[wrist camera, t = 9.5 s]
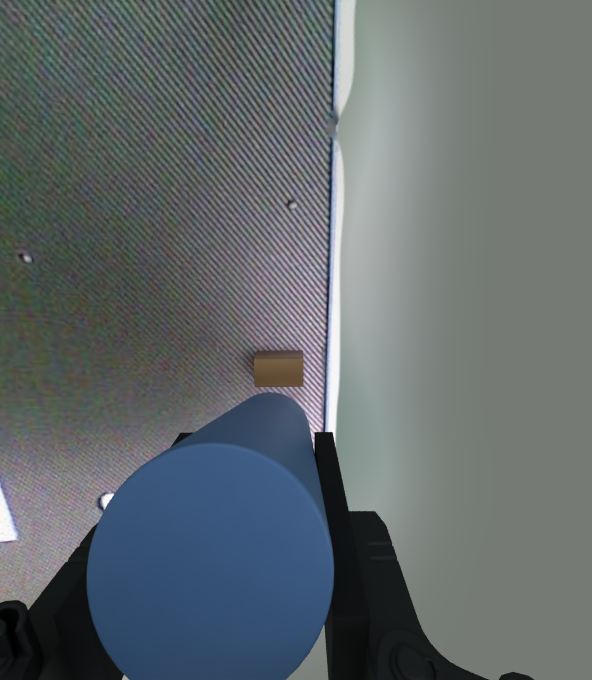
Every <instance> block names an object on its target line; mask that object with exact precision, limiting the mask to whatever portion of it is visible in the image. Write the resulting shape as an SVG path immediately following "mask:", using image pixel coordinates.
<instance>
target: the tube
mask: <svg viewBox="0 0 592 680" xmlns="http://www.w3.org/2000/svg"><path fill="white" fill-rule="evenodd" d="M333 586H334V558H333V549H332V543H331V538H330V533H329V527H328V522H327V517H326V512H325V506H324V501H323V496H322V491H321V485H320V480H319V475H318V470H317V464H316V459H315V454H314V449H313V443H312V438H311V433H310V428H309V423H308V420H307V417H306V415H305V413H304V411H303V410H302V408H301V407H300V406H299V405H298V404H297V403H296V402H295V401H294V400H292V399H291V398H289V397H287V396H285V395H282V394H279V393H272V392H268V393H261V394H257V395H255V396H252V397H251V398H249V399H247V400H246V401H244V402H242V403H241V404H239V405H238V406H236V407H234V408H233V409H231V410H230V411H228V412H226V413H225V414H223V415H222V416H220V417H218V418H217V419H215V420H214V421H212V422H210V423H209V424H207V425H206V426H204V427H202V428H201V429H199V430H198V431H196V432H194V433H193V434H191V435H190V436H188V437H186V438H185V439H183V440H182V441H180V442H179V443H177V444H175V445H174V446H172V447H171V448H169V449H167V450H166V451H164V452H163V453H161V454H159V455H158V456H156V457H155V458H153V459H152V460H150V461H149V462H147V463H146V464H144V465H143V466H141V467H140V468H139V469H138V470H137V471H135V472H134V473H133V474H132V475H131V476H130V477H129V478H128V479H127V480H126V481H125V482H124V483H123V484H122V485H121V487H120V488H119V489H118V490H117V491H116V493H115V494H114V496H113V497H112V499H111V500H110V502H109V503H108V505H107V507H106V508H105V510H104V512H103V514H102V516H101V518H100V520H99V522H98V525H97V528H96V530H95V533H94V536H93V539H92V543H91V547H90V551H89V556H88V565H87V596H88V603H89V609H90V613H91V617H92V621H93V624H94V627H95V629H96V632H97V634H98V637H99V639H100V641H101V643H102V645H103V647H104V648H105V650H106V652H107V654H108V655H109V657H110V658H111V659H112V661H113V662H114V663H115V665H116V666H117V667H118V669H119V670H120V671H121V672H122V673H123V674H124V675H125V676H126V677H127V678H128V679H129V680H286V679H287V678H288V677H289V676H290V675H291V674H292V673H293V672H294V671H295V670H296V669H297V668H298V667H299V666H300V664H301V663H302V662H303V660H304V659H305V658H306V657H307V655H308V654H309V653H310V651H311V649H312V647H313V646H314V644H315V642H316V641H317V639H318V637H319V635H320V632H321V630H322V627H323V625H324V623H325V620H326V618H327V614H328V611H329V607H330V604H331V598H332V592H333Z"/></svg>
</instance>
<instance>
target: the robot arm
mask: <svg viewBox="0 0 592 680" xmlns="http://www.w3.org/2000/svg"><path fill="white" fill-rule="evenodd" d="M191 434H193V433H180V434H179V436H178V437H177V439H176V440H175V442H174V443H173V444H172V446H174V445H175V444H177V443H179V442H180V441H182V440H183V439H185V438H186V437H188V436H190V435H191ZM172 446H171V447H172ZM171 447H170V448H171ZM314 454H315V459H316V464H317V470H318V475H319V480H320V485H321V491H322V496H323V501H324V506H325V512H326V517H327V522H328V527H329V533H330V538H331V543H332V549H333V558H334V586H333V592H332V598H331V604H330V607H329V611H328V614H327V618H326V620H325V623H324V625H325V637H326V652H327V664H328V678H329V680H488V679H486V678H483V677H481V676H478V675H476V674H474V673H471V672H469V671H466V670H464V669H462V668H460V667H458V666H456V665H454V664H453V663H451V662H449V661H448V660H447V659H446V658H444V657H443V656H442V655H441V654H440V653H439V652H438V651H437V650H436V649H435V648H434V647H433V645H432V644H431V643H430V642H429V640H428V639H427V637H426V635H425V634H424V632H423V630H422V628H421V626H420V623H419V621H418V618H417V615H416V612H415V609H414V606H413V604H412V600H411V597H410V595H409V592H408V589H407V586H406V583H405V580H404V577H403V574H402V571H401V568H400V565H399V562H398V561H397V556H396V553H395V550H394V547H393V546H392V541H391V539H390V536H389V533H388V530H387V527H386V525H385V523H384V522H383V521H382V520H381V518H380V517H379V516H378V515H377V513H376V512H375V511H349V510H348V506H347V501H346V496H345V491H344V486H343V481H342V477H341V472H340V467H339V462H338V457H337V452H336V447H335V443H334V438H333V433H332V432H315V449H314ZM97 525H98V523H97V524H96V525H95V526H94V527H93V528H92V529H91V530H90V532H89V533H88V534H87V535H86V537H85V538H84V539H83V541H82V542H81V543H80V546H79V547H77V548H76V550H75V551H74V552H73V553H72V555H71V556H70V557H69V560H68V562H65V564H64V565H63V566H62V568H61V569H60V570H59V571H58V573H57V574H56V575H55V577H54V578H53V579H52V580H51V582H50V583H49V584H48V586H47V587H46V588H45V589H44V591H43V592H42V593H41V595H40V596H39V597H38V598H37V600H36V601H35V602H34V604H33V605H32V606H31V607H30V609H29V610H28V609H27V607H26V605H25V604H24V603H22V602H20V601H19V600H13V601H4V602H2V603H0V680H122V678H123V675H124V674H123V673H122V672H121V671H120V670H119V669H118V667H117V666H116V665H115V663H114V662H113V661H112V659H111V658H110V657H109V655H108V654H107V652H106V650H105V648H104V647H103V645H102V643H101V641H100V639H99V637H98V634H97V632H96V629H95V627H94V624H93V621H92V617H91V613H90V609H89V603H88V596H87V565H88V556H89V551H90V547H91V543H92V539H93V536H94V533H95V530H96V528H97ZM499 680H534V679H532V678H531V677H529V676H527V675H523V674H519V673H515V672H511V673H507V674H504V675H501V677H500V679H499Z"/></svg>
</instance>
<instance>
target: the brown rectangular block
mask: <svg viewBox="0 0 592 680" xmlns="http://www.w3.org/2000/svg"><path fill="white" fill-rule="evenodd" d="M254 381H255V387H303V351H257V353H256V355H255V358H254Z"/></svg>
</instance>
